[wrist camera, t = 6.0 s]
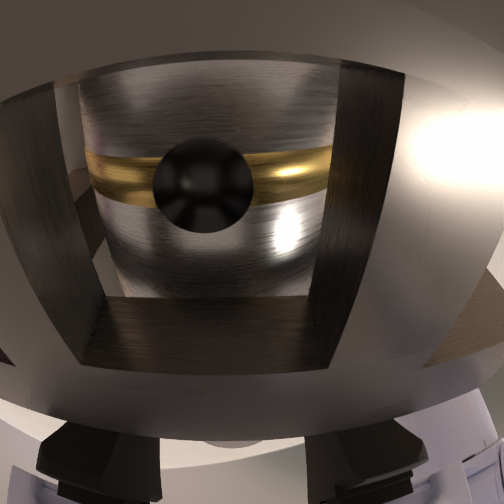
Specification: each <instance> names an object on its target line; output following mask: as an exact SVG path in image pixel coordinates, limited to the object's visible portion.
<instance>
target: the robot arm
mask: <svg viewBox="0 0 504 504" xmlns="http://www.w3.org/2000/svg"><path fill="white" fill-rule="evenodd" d="M304 438H305V448H306V464H307V486H308V504H504V438H502V439H501V440H499V441H498V442H496V443H495V444H493V445H492V446H490V447H488V448H487V449H485V450H483V451H482V452H480V453H478V454H477V455H475V453H476V452H478V451H480V450H482V449H483V448H485V447H486V446H488V445H489V444H491V443H493V442H494V441H496V440H497V439H498V436H497V433H496V430H495V428H494V425H493V422H492V420H491V417H490V414H489V412H488V409H487V407H486V405H485V402H484V400H483V398H482V395H481V393H480V391H479V389H478V388H477V389H475V390H472V391H470V392H468V393H466V394H463V395H461V396H458V397H456V398H453V399H451V400H448V401H446V402H443V403H440V404H438V405H435V406H432V407H429V408H426V409H423V410H420V411H417V412H414V413H411V414H408V415H404V416H401V417H398V418H394V419H390V420H387V421H383V422H379V423H375V424H370V425H366V426H362V427H357V428H352V429H347V430H342V431H336V432H331V433H324V434H318V435H311V436H304ZM36 470H37V471H39V472H41V473H43V474H45V475H47V476H49V477H52V478H54V479H56V480H59V483H58V485H56V484H53V483H51V482H48V481H46V480H43V479H41V478H39V477H37V476H35V475H32V474H30V473H28V472H26V471H24V470H22V469H20V468H18V467H16V466H14V465H13V466H12V470H11V475H10V481H9V489H8V496H7V504H150V501H151V502H158V501H159V500H161V499H162V498H163V497H162V488H161V478H160V438H155V437H147V436H139V435H132V434H126V433H120V432H114V431H109V430H103V429H99V428H94V427H89V426H85V425H81V424H77V423H73V422H69V421H67V422H66V423H65V424H64V425H63V426H62V427H60V428H59V429H58V430H57V431H55V432H54V433H53V434H51V435H50V436H49V437H48V438H46V439H45V440H44V441H42V442H41V445H40V449H39V453H38V458H37V464H36Z"/></svg>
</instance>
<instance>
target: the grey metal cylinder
mask: <svg viewBox="0 0 504 504" xmlns="http://www.w3.org/2000/svg"><path fill="white" fill-rule="evenodd" d="M339 70H340V67H333V66H326V65H319V64H310V63H300V62H289V61H273V60H207V61H191V62H180V63H170V64H162V65H154V66H147V67H141V68H135V69H129V70H124V71H119V72H114V73H109V74H105V75H100V76H96V77H92V78H88V79H84V80H81V81H78V89H79V100H80V110H81V118H82V126H83V133H84V140H85V143H84V150H85V156H86V161H87V167H88V172H89V177H90V182H91V184H92V187H93V188H94V193H95V197H96V201H97V206H98V210H99V214H100V218H101V221H102V225H103V229H104V233H105V236H106V240H107V243H108V247H109V250H110V253H111V257H112V260H113V263H114V266H115V269H116V272H117V275H118V278H119V281H120V284H121V287H122V290H123V293H124V295H125V297H152V298H225V297H268V296H295V295H309V290H310V285H311V280H312V275H313V269H314V264H315V259H316V253H317V248H318V242H319V236H320V230H321V224H322V218H323V212H324V205H325V199H326V192H327V185H328V178H329V170H330V162H331V154H332V146H333V137H334V128H335V118H336V108H337V97H338V84H339ZM260 441H262V440H256V441H204V442H206V443H208V444H211V445H214V446H217V447H223V448H242V447H247V446H251V445H253V444H256V443H258V442H260Z"/></svg>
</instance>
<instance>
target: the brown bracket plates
mask: <svg viewBox="0 0 504 504" xmlns="http://www.w3.org/2000/svg"><path fill="white" fill-rule="evenodd" d="M207 60H273V61H289V62H300V63H310V64H319V65H326V66H333V67H340V70H339V84H338V97H337V108H336V118H335V128H334V137H333V146H332V154H331V162H330V170H329V178H328V185H327V192H326V199H325V205H324V212H323V218H322V224H321V230H320V236H319V242H318V248H317V253H316V259H315V264H314V269H313V275H312V280H311V285H310V290H309V295H295V296H268V297H225V298H152V297H111V296H106V295H105V293H104V290H103V288H102V285H101V283H100V280H99V278H98V275H97V272H96V270H95V267H94V264H93V261H92V259H93V257H94V255H95V253H96V252H97V250H98V248H99V247H100V245H101V243H102V242H103V240H104V238H105V237H106V236H105V233H104V229H103V225H102V221H101V218H100V214H99V210H98V206H97V201H96V197H95V193H94V188H93V187H92V184H91V182H90V177H89V172H88V168H85V169H79V170H73V171H72V172H70V173H69V174H67V170H66V165H65V160H64V155H63V150H62V144H61V138H60V132H59V126H58V118H57V111H56V102H55V91H54V88H57V87H60V86H63V85H67V84H70V83H73V82H77V81H81V80H84V79H88V78H92V77H96V76H100V75H105V74H109V73H114V72H119V71H124V70H129V69H135V68H141V67H147V66H154V65H162V64H170V63H180V62H191V61H207ZM503 230H504V0H0V398H1V399H4V400H6V401H9V402H11V403H14V404H16V405H19V406H22V407H24V408H27V409H30V410H33V411H36V412H39V413H42V414H45V415H48V416H51V417H55V418H58V419H62V420H65V421H69V422H73V423H77V424H81V425H85V426H89V427H94V428H99V429H103V430H109V431H114V432H120V433H126V434H132V435H139V436H147V437H155V438H165V439H177V440H193V441H256V440H273V439H284V438H294V437H303V436H311V435H318V434H324V433H331V432H336V431H342V430H347V429H352V428H357V427H362V426H366V425H370V424H375V423H379V422H383V421H387V420H390V419H394V418H398V417H401V416H404V415H408V414H411V413H414V412H417V411H420V410H423V409H426V408H429V407H432V406H435V405H438V404H440V403H443V402H446V401H448V400H451V399H453V398H456V397H458V396H461V395H463V394H466V393H468V392H470V391H472V390H475V389H477V388H479V387H481V386H482V385H483V384H484V383H485V382H486V381H487V380H488V379H489V378H490V377H491V376H492V375H493V374H494V373H495V372H496V371H497V370H498V369H499V368H500V367H501V366H502V364H503V363H504V289H503V288H502V287H501V286H500V284H499V283H498V282H497V280H496V279H495V278H494V277H493V275H492V274H491V273H490V272H489V270H488V269H487V268H486V267H487V265H488V263H489V261H490V259H491V257H492V255H493V253H494V251H495V248H496V246H497V244H498V242H499V239H500V237H501V235H502V232H503Z"/></svg>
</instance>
